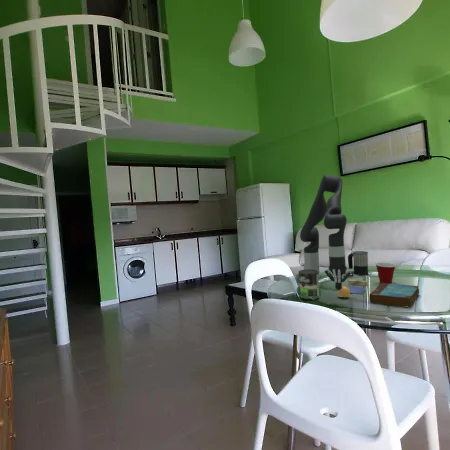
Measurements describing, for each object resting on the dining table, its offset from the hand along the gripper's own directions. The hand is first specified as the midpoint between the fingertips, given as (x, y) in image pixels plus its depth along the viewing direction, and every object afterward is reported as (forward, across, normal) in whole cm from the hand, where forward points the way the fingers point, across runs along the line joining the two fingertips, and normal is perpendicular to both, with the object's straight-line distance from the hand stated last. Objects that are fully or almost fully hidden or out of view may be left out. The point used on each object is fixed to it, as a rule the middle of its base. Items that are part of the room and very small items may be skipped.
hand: (338, 289), depth 160 cm
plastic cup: (+7, -14, -42) cm, 45 cm away
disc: (+7, 0, -25) cm, 25 cm away
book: (+8, -22, -17) cm, 29 cm away
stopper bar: (+7, 0, -36) cm, 36 cm away
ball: (+4, 0, -10) cm, 10 cm away
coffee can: (+7, +17, -4) cm, 18 cm away
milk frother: (+7, +7, -59) cm, 60 cm away
